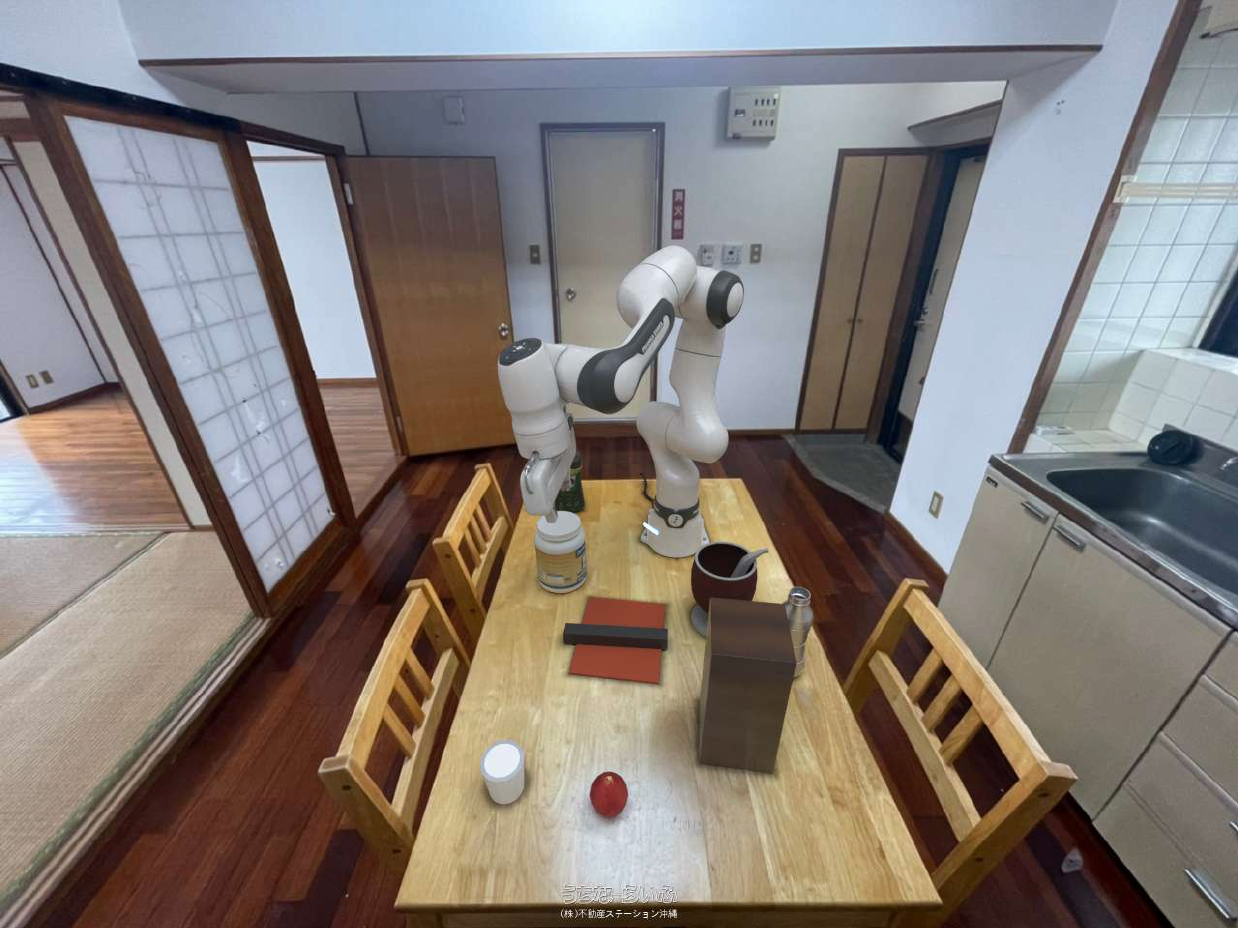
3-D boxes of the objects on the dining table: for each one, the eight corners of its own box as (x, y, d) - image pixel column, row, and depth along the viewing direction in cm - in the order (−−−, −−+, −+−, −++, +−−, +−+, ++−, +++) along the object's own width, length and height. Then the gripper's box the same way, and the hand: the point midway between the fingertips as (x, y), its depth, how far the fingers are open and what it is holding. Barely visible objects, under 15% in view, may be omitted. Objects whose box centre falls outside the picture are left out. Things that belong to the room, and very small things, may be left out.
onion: (583, 813, 80) (581, 782, 76) (604, 781, 84) (603, 751, 81) (614, 835, 77) (613, 805, 74) (634, 802, 82) (635, 771, 78)
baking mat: (589, 598, 123) (589, 596, 122) (665, 605, 120) (665, 603, 120) (568, 674, 103) (568, 672, 103) (658, 684, 101) (658, 682, 101)
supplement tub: (589, 592, 124) (587, 535, 117) (538, 598, 123) (532, 540, 115) (584, 561, 135) (582, 506, 127) (537, 566, 133) (532, 510, 126)
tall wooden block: (699, 702, 97) (710, 597, 85) (764, 709, 96) (784, 603, 84) (699, 763, 87) (711, 653, 75) (772, 773, 85) (796, 662, 73)
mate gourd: (690, 643, 110) (696, 569, 101) (685, 598, 122) (690, 528, 113) (763, 644, 110) (776, 570, 100) (751, 599, 122) (761, 529, 113)
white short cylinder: (477, 783, 84) (471, 757, 81) (514, 757, 88) (510, 731, 85) (498, 818, 80) (492, 791, 76) (536, 788, 83) (532, 762, 80)
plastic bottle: (804, 685, 101) (822, 607, 91) (768, 679, 102) (782, 602, 93) (800, 659, 106) (817, 583, 97) (766, 654, 107) (780, 579, 98)
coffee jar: (584, 499, 162) (582, 446, 154) (584, 513, 155) (582, 458, 147) (553, 500, 162) (549, 447, 153) (552, 514, 155) (548, 459, 146)
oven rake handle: (566, 632, 112) (565, 622, 111) (667, 638, 111) (667, 628, 109) (563, 643, 110) (562, 633, 108) (667, 649, 108) (667, 639, 107)
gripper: (542, 471, 77) (561, 541, 84) (575, 409, 94) (588, 472, 101) (503, 472, 79) (525, 541, 86) (542, 411, 95) (558, 473, 103)
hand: (560, 503), depth 94 cm, fingers open, 8 cm apart
